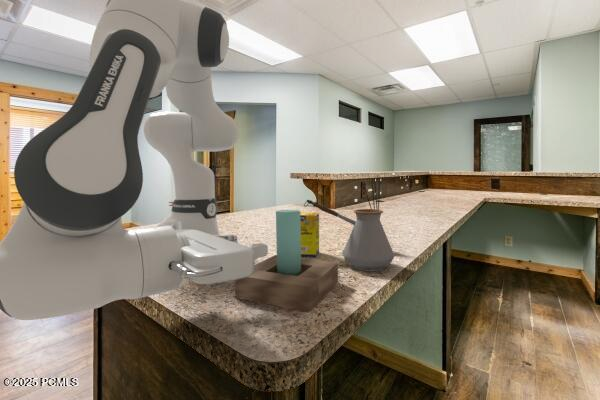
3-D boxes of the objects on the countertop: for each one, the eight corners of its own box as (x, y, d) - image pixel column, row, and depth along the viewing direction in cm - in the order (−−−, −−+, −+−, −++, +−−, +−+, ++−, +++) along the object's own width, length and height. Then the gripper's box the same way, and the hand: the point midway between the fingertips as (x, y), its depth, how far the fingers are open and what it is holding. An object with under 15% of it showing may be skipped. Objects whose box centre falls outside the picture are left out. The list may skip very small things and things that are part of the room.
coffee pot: (396, 262, 73) (397, 199, 72) (390, 277, 63) (391, 204, 62) (313, 253, 82) (313, 197, 81) (295, 265, 71) (294, 201, 70)
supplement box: (316, 258, 78) (316, 215, 77) (293, 257, 79) (293, 214, 78) (319, 252, 83) (319, 212, 82) (298, 251, 85) (297, 211, 84)
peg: (274, 285, 55) (272, 212, 53) (281, 276, 59) (279, 209, 58) (298, 286, 54) (297, 213, 52) (303, 278, 58) (302, 210, 57)
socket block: (235, 297, 53) (234, 274, 53) (275, 273, 66) (275, 255, 65) (309, 312, 47) (309, 286, 47) (338, 282, 60) (338, 262, 59)
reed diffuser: (381, 255, 79) (382, 178, 78) (355, 252, 83) (356, 178, 81) (390, 247, 88) (391, 177, 87) (366, 244, 92) (367, 177, 90)
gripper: (185, 249, 33) (287, 233, 42) (140, 227, 49) (221, 218, 58) (187, 306, 33) (288, 278, 42) (142, 266, 49) (222, 251, 58)
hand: (249, 244), depth 50 cm, fingers open, 8 cm apart
